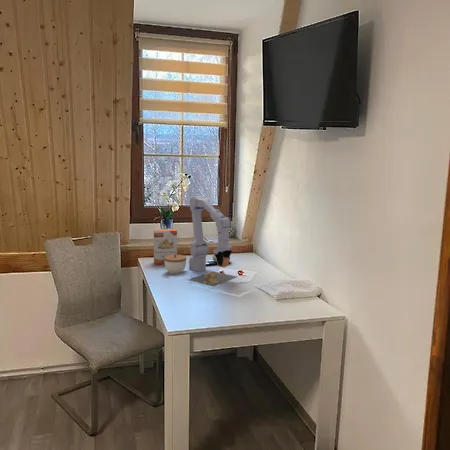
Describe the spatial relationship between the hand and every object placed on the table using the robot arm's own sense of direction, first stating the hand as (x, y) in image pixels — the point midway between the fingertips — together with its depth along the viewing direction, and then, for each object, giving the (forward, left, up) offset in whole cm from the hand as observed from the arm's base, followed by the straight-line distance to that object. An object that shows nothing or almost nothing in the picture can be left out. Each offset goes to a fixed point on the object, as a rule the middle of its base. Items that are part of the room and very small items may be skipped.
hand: (222, 264), depth 260 cm
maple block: (-2, -8, -8) cm, 12 cm away
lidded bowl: (-31, -4, -10) cm, 33 cm away
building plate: (-5, -2, -9) cm, 11 cm away
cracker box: (-50, +8, -10) cm, 52 cm away
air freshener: (-24, +31, -10) cm, 41 cm away
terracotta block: (0, 0, -1) cm, 1 cm away
